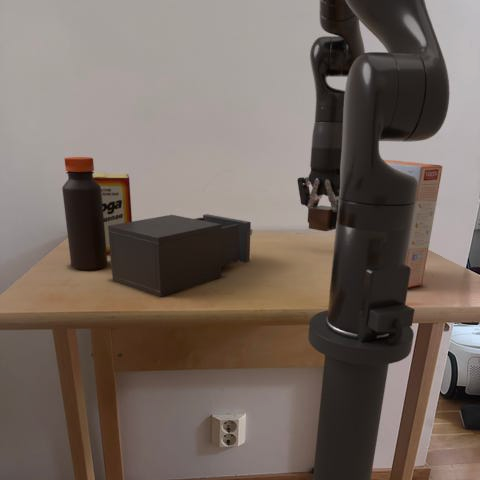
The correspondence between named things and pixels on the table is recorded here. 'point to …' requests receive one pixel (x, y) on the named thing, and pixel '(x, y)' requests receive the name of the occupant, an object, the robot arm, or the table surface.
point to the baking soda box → (114, 200)
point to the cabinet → (165, 253)
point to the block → (320, 218)
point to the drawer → (232, 238)
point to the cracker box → (420, 214)
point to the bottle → (84, 215)
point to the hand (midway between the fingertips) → (323, 226)
